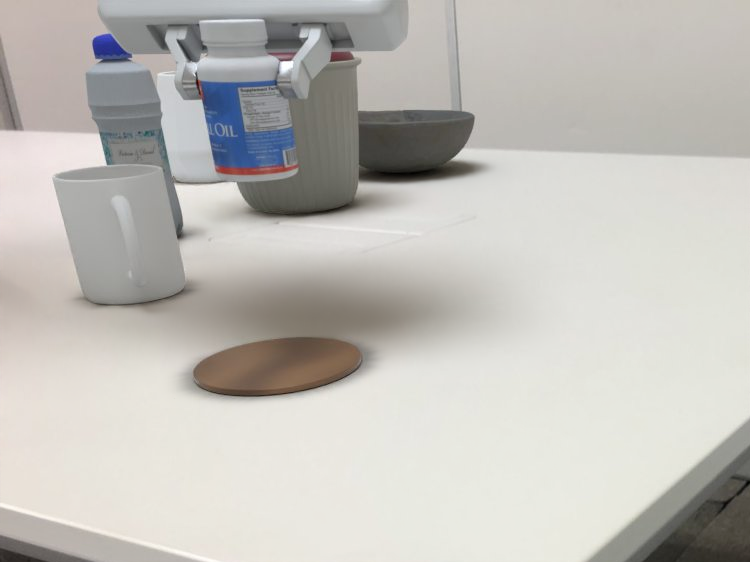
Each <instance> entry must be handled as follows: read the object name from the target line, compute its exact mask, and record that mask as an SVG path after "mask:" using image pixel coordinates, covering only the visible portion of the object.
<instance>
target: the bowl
mask: <svg viewBox="0 0 750 562" xmlns="http://www.w3.org/2000/svg"><path fill="white" fill-rule="evenodd" d="M475 120H476V118H475V115H474V113H472V112H470V111H465V110H452V109H451V110H450V109H401V110H400V109H399V110H358V129H359V167H362V168H365V169H368V170H371V171H375V172H380V173H389V174H390V173H391V174H409V173H419V172H425V171H431V170H433V169H436V168H439V167H441V166H443V165H445V164H447V163H448V162H450V161H451V160H453V159H454V158H455V157H457V155H459V154H460V152H461V151H462V150H463V149H464V148H465V147H466V144H468V141H469V139H470V137H471V134H472V132H473V129H474V126H475Z"/></svg>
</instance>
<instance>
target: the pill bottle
mask: <svg viewBox="0 0 750 562" xmlns="http://www.w3.org/2000/svg"><path fill="white" fill-rule="evenodd" d="M199 25H200V32H201V40H202V41H203V45H206V46H207V48H208V53H207V54H208V55H207V54H206V55H207V56H206V55H205V56H206V57H205V56H204V57H202V58H200V61H199V62H198V64H197V69H196V70H197V77H198V83H199V88H200V93H201V98H202V103H203V108H204V113H205V119H206V124H207V129H208V134H209V140H210V145H211V150H212V155H213V160H214V166H215V170H216V174H217V176H218V177H219V178H220V179H222V180H226V181H225V182H233V183H236V182H254V181H268V180H278V179H283V178H287V177H290V176H293V175H295V174H296V173H297V171H298V160H297V154H296V147H295V140H294V134H293V128H292V121H291V115H290V109H289V102H288V99H285V98H284V97H283V96H282V92H281V91H280V90H279V89H278V87H277V82H276V78H277V75H278V74H279V71H278V66H279V60H278V59H277V58H276V57H274V56H272V55H269V54H268V53H267V52H266V49H265V44H267V43H268V41H267V39H268V36H267V31H266V26H265V21H264V20H261V19H231V20H205V21H199Z"/></svg>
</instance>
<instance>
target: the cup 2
mask: <svg viewBox="0 0 750 562" xmlns="http://www.w3.org/2000/svg"><path fill="white" fill-rule="evenodd" d="M175 74H176V70H175V71H162V72H158V73H157V75H156V76H157V77H156V79H157V80H156V90H157V93H158V95H159V98H160V100H161V112H162V113H163V115H162V118H161V126H162V130H163V135H164V140H165V145H166V149H167V154H168V159H169V164H170V169H171V174H172V177H173V178H174V179H175V180H176V181H177V182H181V183H190V184H191V183H192V184H197V183H198V184H203V183H204V184H205V183H207V184H209V183H217V182H218V183H219V182H227V181H226V180H222V179H220V178H219V177H218V176H217V174H216V170H215V166H214V160H213V155H212V150H211V145H210V140H209V134H208V129H207V124H206V119H205V113H204V108H203V103H202V100H183V98H182V97H181V95H180V94H179V92H178V91H177V90H176V88H175V83H174V79H175Z"/></svg>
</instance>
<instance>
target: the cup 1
mask: <svg viewBox="0 0 750 562" xmlns="http://www.w3.org/2000/svg"><path fill="white" fill-rule="evenodd" d="M51 178H52V183H53V187H54V190H55V191H54V192H55V194H56V198H57V202H58V206H59V210H60V213H61V218H62V221H63V226H64V230H65V233H66V237H67V241H68V244H69V248H70V252H71V256H72V260H73V263H74V268H75V272H76V276H77V280H78V283H79V286H80V289H81V292H82V294H83V296H84V297H85V298H86V299H87V300H88V301H89V302H91V303H94V304H101V305H129V304H130V305H131V304H140V303H147V302H151V301H157V300H162V299H165V298H169V297H172V296H174V295H176V294H179V293H181V291H183V289H184V288H185V286H186V274H185V268H184V263H183V258H182V254H181V249H180V244H179V240H178V239H179V238H178V236H177V234H176V230H175V225H174V220H173V216H172V211H171V206H170V201H169V197H168V192H167V187H166V183H165V178H164V173H163V169H162V168H161V167H159V166H154V165H137V164H131V165H108V166H107V165H97V166H88V167H81V168H75V169H69V170H65V171H64V170H63V171H61V172H58V173H55V174H53V175H52V176H51Z"/></svg>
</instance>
